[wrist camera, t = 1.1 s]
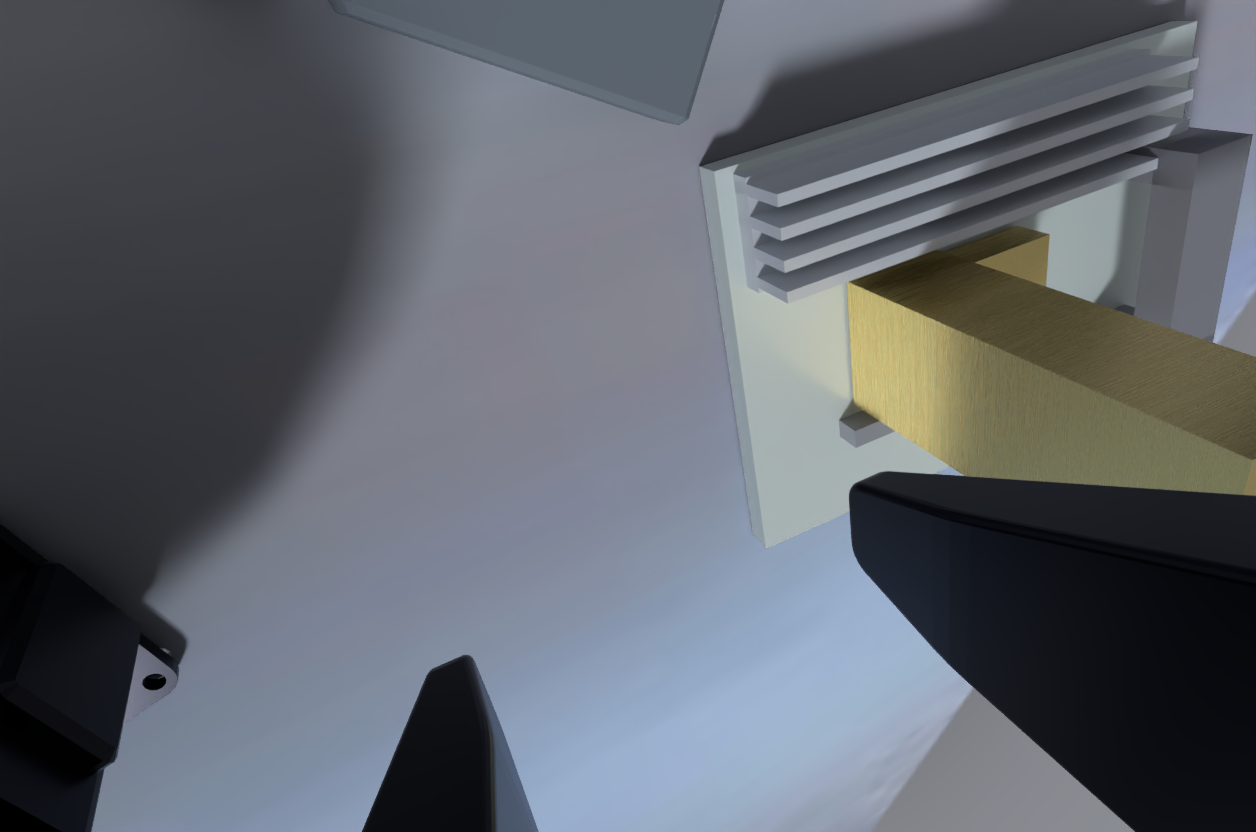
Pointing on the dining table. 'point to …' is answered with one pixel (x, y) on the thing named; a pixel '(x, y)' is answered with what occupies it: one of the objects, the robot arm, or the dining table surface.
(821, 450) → the socket board
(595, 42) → the dark grey flat block
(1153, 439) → the yellow rectangular block
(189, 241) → the dining table surface
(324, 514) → the dining table surface
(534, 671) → the dining table surface
